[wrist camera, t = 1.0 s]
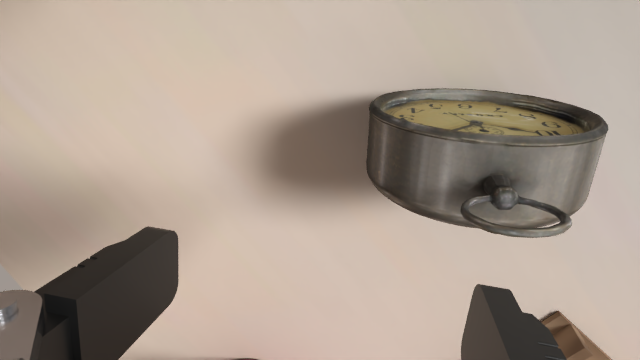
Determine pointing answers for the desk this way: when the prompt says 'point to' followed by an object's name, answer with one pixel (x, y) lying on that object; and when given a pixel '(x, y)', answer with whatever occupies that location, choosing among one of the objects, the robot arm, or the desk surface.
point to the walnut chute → (572, 339)
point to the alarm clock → (484, 158)
